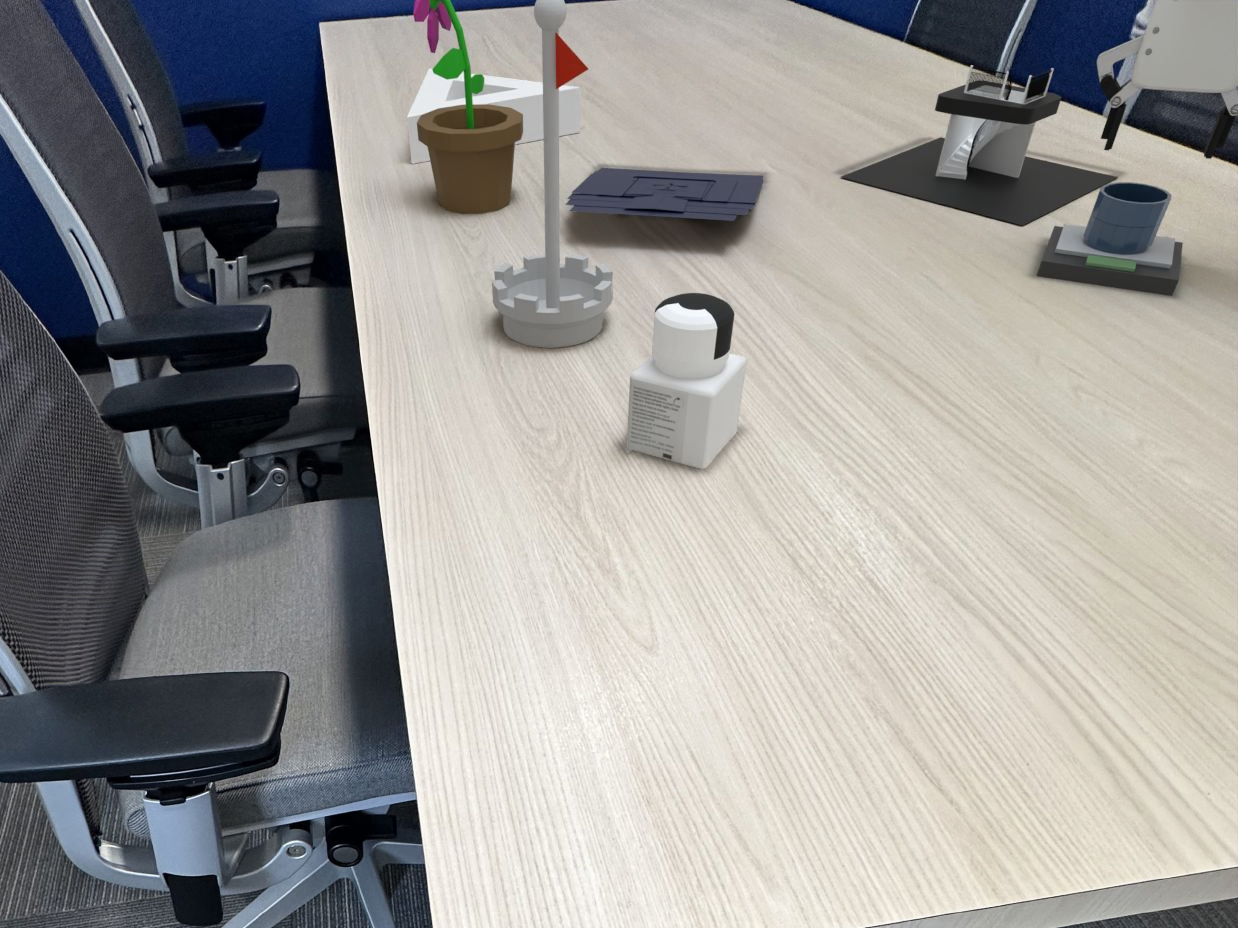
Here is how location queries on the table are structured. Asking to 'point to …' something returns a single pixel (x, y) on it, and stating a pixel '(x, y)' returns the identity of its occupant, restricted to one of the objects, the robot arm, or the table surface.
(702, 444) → the container
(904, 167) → the black-topped pedestal
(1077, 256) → the scale
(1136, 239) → the blue cup
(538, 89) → the triangle block
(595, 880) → the table surface
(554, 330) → the flag stand
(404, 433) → the table surface
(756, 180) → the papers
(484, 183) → the flowerpot
